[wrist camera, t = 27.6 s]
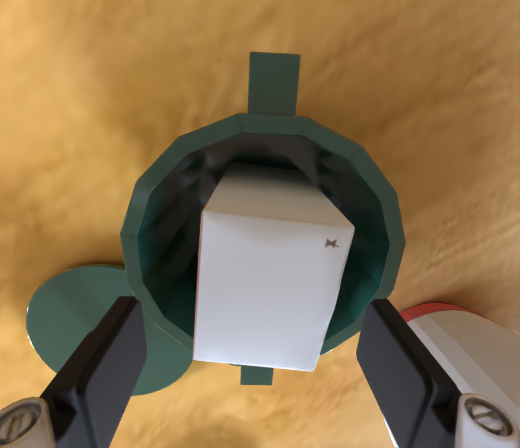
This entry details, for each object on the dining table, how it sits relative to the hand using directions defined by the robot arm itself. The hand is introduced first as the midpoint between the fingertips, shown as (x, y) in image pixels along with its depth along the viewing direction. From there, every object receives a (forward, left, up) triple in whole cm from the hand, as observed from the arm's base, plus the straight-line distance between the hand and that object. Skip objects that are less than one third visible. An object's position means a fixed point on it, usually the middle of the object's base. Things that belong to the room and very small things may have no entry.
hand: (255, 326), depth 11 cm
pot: (+1, 0, -15) cm, 14 cm away
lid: (-14, -14, -14) cm, 24 cm away
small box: (0, +1, -14) cm, 14 cm away
